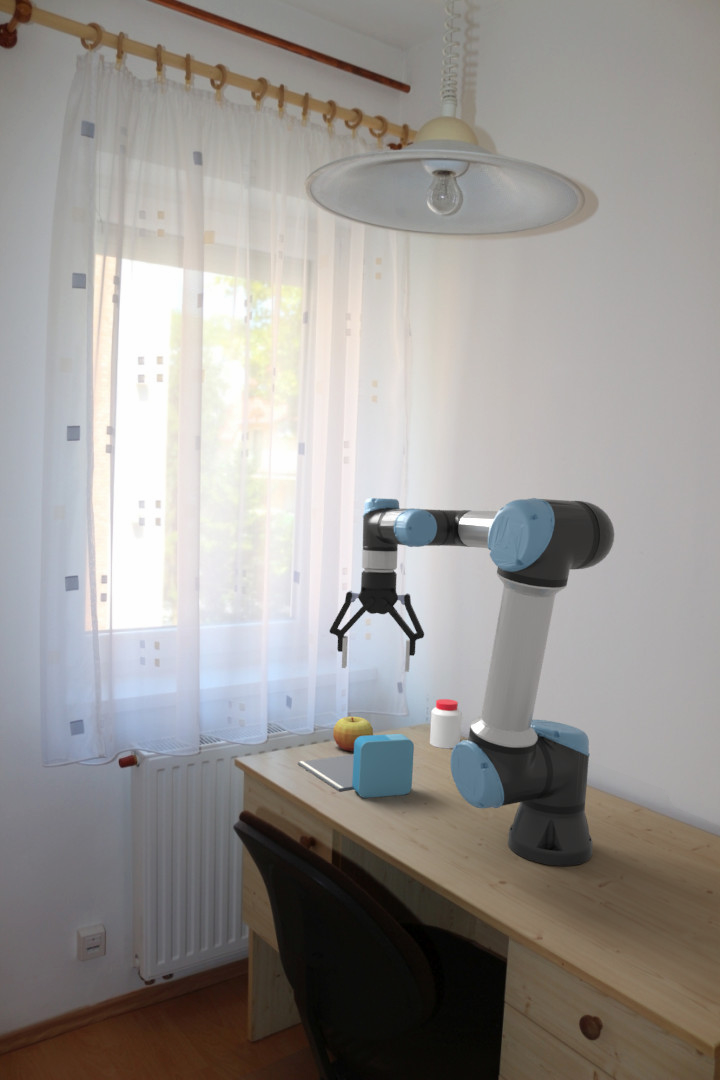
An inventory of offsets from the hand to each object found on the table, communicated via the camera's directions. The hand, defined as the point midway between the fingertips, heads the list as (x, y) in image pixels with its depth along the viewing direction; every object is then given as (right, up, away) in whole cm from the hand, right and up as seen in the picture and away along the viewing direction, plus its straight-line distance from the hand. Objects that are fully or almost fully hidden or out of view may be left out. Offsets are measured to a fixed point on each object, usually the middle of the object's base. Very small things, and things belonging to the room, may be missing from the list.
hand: (375, 668), depth 185 cm
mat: (-5, -25, +10) cm, 27 cm away
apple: (-5, -24, +28) cm, 37 cm away
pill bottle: (+18, -25, +35) cm, 47 cm away
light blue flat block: (+1, -26, -2) cm, 26 cm away
